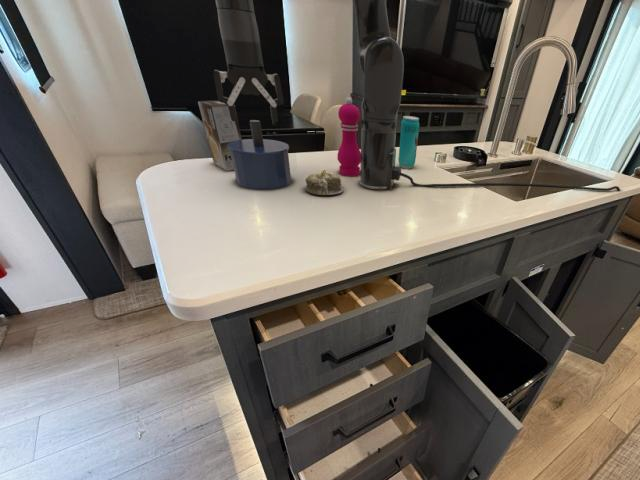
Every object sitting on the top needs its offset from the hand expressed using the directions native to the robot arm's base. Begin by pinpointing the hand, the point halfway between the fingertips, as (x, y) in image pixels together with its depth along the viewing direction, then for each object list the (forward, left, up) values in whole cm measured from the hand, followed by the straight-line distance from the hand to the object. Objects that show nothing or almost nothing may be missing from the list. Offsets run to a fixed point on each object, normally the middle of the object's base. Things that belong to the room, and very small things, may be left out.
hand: (256, 123), depth 79 cm
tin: (0, 0, -14) cm, 14 cm away
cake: (-17, +1, -14) cm, 22 cm away
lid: (0, 0, -5) cm, 5 cm away
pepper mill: (-19, -17, -14) cm, 29 cm away
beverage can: (-35, -32, -14) cm, 49 cm away
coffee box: (+15, -9, -14) cm, 22 cm away
